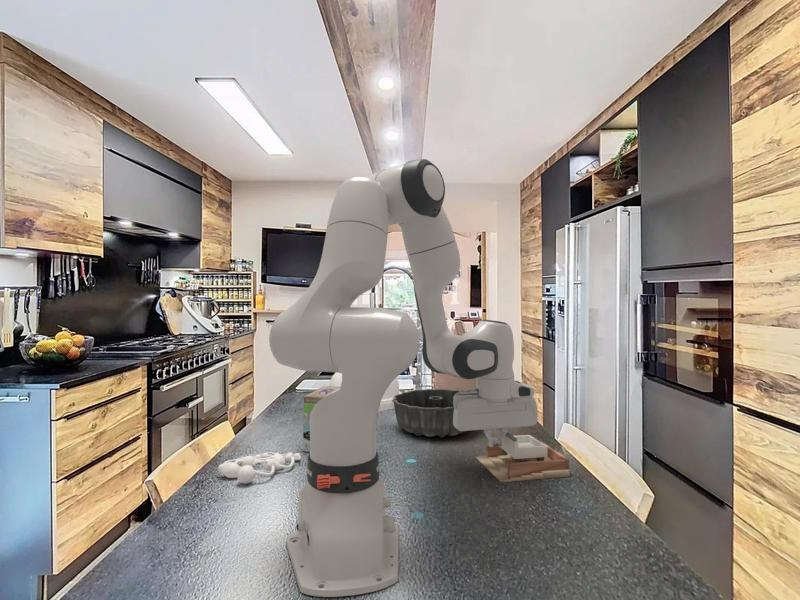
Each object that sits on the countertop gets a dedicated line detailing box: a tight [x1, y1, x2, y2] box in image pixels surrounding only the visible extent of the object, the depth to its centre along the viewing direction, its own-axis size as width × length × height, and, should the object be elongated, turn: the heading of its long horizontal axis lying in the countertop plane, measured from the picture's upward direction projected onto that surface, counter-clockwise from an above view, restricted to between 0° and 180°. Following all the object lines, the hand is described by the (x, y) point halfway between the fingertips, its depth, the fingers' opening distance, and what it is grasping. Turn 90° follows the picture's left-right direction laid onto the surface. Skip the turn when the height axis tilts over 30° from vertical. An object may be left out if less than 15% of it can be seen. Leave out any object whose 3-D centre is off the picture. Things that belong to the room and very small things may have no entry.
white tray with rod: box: [497, 429, 547, 463], centre depth 112 cm, size 9×8×6 cm
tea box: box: [302, 385, 340, 453], centre depth 128 cm, size 15×10×15 cm, turn 168°
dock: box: [475, 439, 571, 483], centre depth 112 cm, size 16×17×4 cm
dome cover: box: [328, 372, 402, 413], centre depth 177 cm, size 32×30×14 cm
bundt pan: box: [392, 388, 468, 439], centre depth 142 cm, size 26×26×10 cm
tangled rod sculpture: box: [217, 451, 302, 485], centre depth 110 cm, size 19×14×4 cm
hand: (495, 446), depth 111 cm, fingers closed
